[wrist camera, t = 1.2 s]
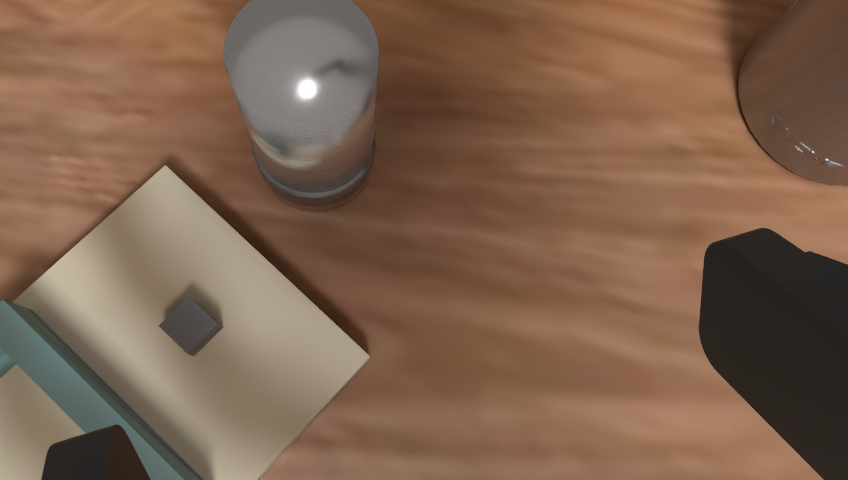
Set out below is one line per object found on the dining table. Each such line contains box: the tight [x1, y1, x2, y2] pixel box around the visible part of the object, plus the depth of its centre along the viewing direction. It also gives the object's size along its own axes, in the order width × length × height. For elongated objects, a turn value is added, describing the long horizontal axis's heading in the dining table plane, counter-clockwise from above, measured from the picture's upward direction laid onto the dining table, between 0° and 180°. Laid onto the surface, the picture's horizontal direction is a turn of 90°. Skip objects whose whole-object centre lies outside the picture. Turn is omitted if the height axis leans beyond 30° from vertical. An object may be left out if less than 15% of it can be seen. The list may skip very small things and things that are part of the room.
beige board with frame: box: [0, 165, 370, 480], centre depth 27 cm, size 20×12×4 cm, turn 138°
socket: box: [224, 0, 379, 212], centre depth 28 cm, size 5×5×10 cm
